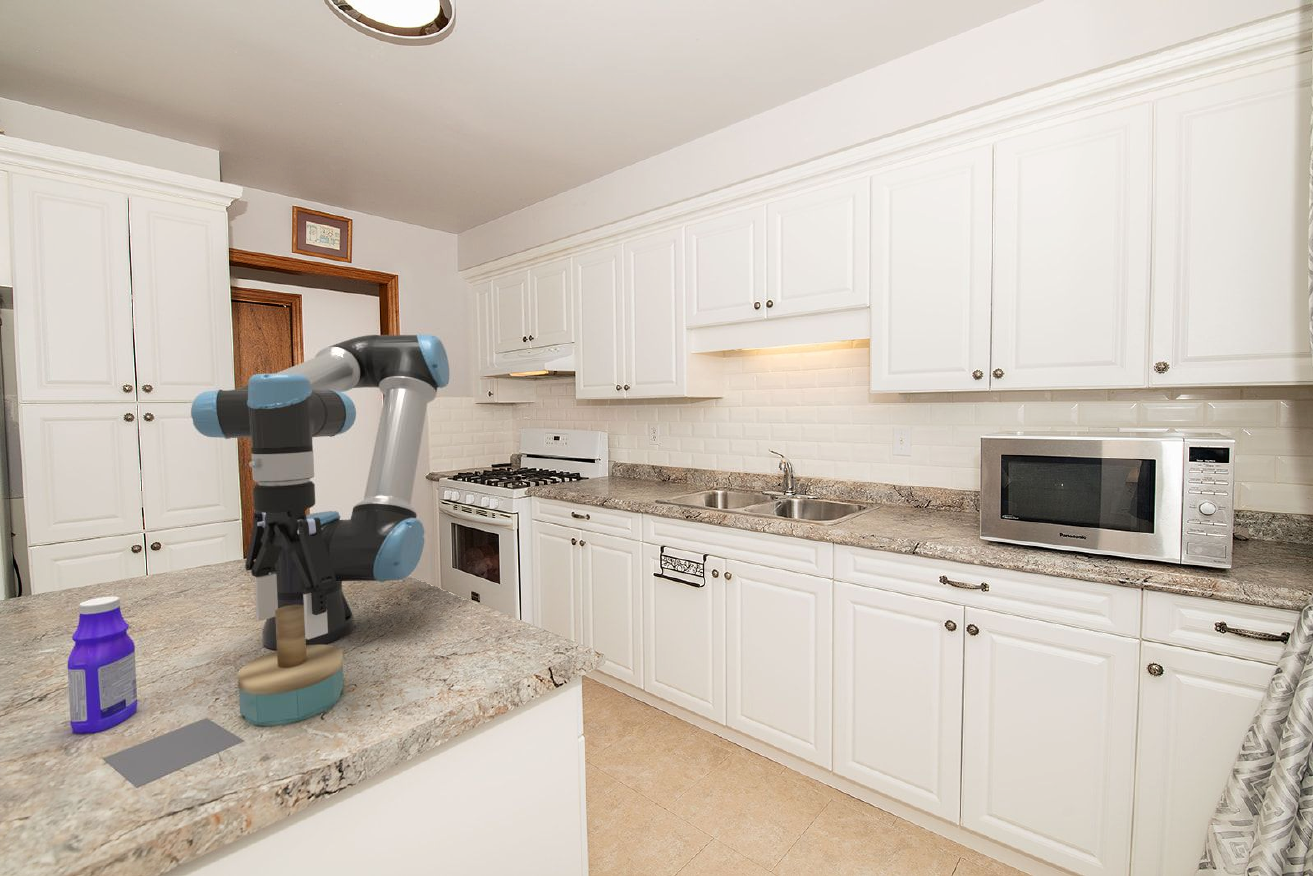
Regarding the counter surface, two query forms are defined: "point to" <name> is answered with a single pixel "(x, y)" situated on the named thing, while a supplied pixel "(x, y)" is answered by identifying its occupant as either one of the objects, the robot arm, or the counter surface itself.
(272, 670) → the lid
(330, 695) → the bowl
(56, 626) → the counter surface
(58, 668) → the counter surface
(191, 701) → the counter surface
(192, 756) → the mat
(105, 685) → the bottle
